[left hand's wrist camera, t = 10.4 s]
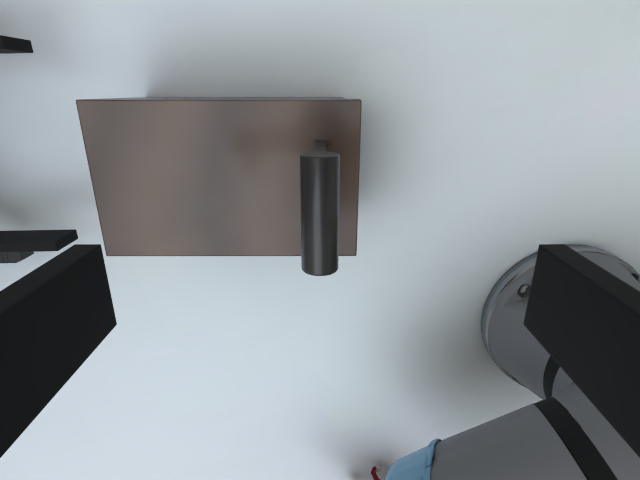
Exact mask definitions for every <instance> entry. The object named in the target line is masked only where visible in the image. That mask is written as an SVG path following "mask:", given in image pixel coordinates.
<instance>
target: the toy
mask: <svg viewBox="0 0 640 480" xmlns="http://www.w3.org/2000/svg"><path fill="white" fill-rule="evenodd" d="M379 469H381V465H380V467H377V466H375V467H373V468H372V470H371V474H372V476H373V478H374V480H380V479H379V478H378V476H377V474H376V472H378V471H379Z"/></svg>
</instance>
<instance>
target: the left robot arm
mask: <svg viewBox="0 0 640 480" xmlns="http://www.w3.org/2000/svg"><path fill="white" fill-rule="evenodd" d="M116 325H117V323H116V318H115V313H114V308H113V303H112V298H111V293H110V289H109V284H108V279H107V274H106V269H105V264H104V259H103V254H102V249H101V245H74V246H72V247H70V248H69V249H67V250H66V251H64V252H62V253H61V254H59V255H58V256H56V257H54V258H53V259H51V260H50V261H48V262H46V263H45V264H43V265H42V266H40V267H38V268H37V269H35V270H34V271H32V272H30V273H29V274H27V275H26V276H24V277H22V278H21V279H19V280H18V281H16V282H14V283H13V284H11V285H10V286H8V287H7V288H5V289H3V290H2V291H0V458H1V457H2V455H3V454H4V453H5V452H6V451H7V450H8V449H9V447H10V446H11V445H12V444H13V443H14V442H15V440H16V439H17V438H18V437H19V436H20V435H21V434H22V432H23V431H24V430H25V429H26V428H27V427H28V426H29V424H30V423H31V422H32V421H33V420H34V419H35V418H36V416H37V415H38V414H39V413H40V412H41V411H42V409H43V408H44V407H45V406H46V405H47V404H48V403H49V401H50V400H51V399H52V398H53V397H54V396H55V395H56V393H57V392H58V391H59V390H60V389H61V388H62V387H63V385H64V384H65V383H66V382H67V381H68V380H69V379H70V377H71V376H72V375H73V374H74V373H75V372H76V370H77V369H78V368H79V367H80V366H81V365H82V364H83V362H84V361H85V360H86V359H87V358H88V357H89V356H90V354H91V353H92V352H93V351H94V350H95V349H96V348H97V346H98V345H99V344H100V343H101V342H102V341H103V339H104V338H105V337H106V336H107V335H108V334H109V333H110V331H111V330H112V329H113V328H114V327H115V326H116ZM481 331H482V337H483V341H484V344H485V346H486V348H487V350H488V352H489V353H490V355H491V357H492V358H493V360H494V361H495V363H496V364H497V365H498V367H499V368H500V369H501V370H502V371H503V372H504V373H505V374H506V375H507V376H509V377H510V378H511V379H513V380H514V381H516V382H517V383H519V384H521V385H522V386H524V387H527V388H528V389H529V390H531V391H532V392H533V393H535V394H536V395H537V396H539V397H540V398H541V399H543V400H542V401H540V402H537V403H535V404H531V405H528V406H526V407H524V408H521V409H519V410H516V411H514V412H511V413H509V414H506V415H504V416H501V417H499V418H496V419H494V420H491V421H489V422H486V423H484V424H481V425H479V426H476V427H474V428H471V429H469V430H467V431H464V432H462V433H459V434H457V435H454V436H452V437H449V438H447V439H444V440H441V439H438V438H437V439H435V440H433V441H431V443H430V444H429V445H428V446H426V447H424V448H422V449H420V450H418V451H416V452H414V453H412V454H409V455H407V456H405V457H403V458H401V459H399V460H398V461H396V462H395V463H394V464H393V465H392V466H391V468H390V469H389V471H388V473H387V475H386V478H385V480H640V275H639V274H638V273H637V271H636V270H635V269H634V268H633V267H631V266H630V265H629V264H627V263H626V262H624V261H623V260H621V259H619V258H617V257H616V256H614V255H612V254H610V253H608V252H606V251H604V250H601V249H598V248H595V247H590V246H584V245H539V249H538V253H536V254H533V255H531V256H529V257H528V258H526V259H524V260H522V261H521V262H519V263H518V264H516V265H515V266H514V267H512V268H511V269H510V270H509V271H508V272H507V273H506V274H505V275H504V276H503V277H502V278H501V279H500V280H499V281H498V282H497V284H496V285H495V286H494V288H493V289H492V291H491V293H490V295H489V296H488V298H487V301H486V303H485V306H484V309H483V313H482V320H481Z"/></svg>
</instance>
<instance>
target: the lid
mask: <svg viewBox="0 0 640 480" xmlns="http://www.w3.org/2000/svg"><path fill="white" fill-rule="evenodd" d="M361 102H362V101H361V100H359V99H85V100H76V104H77V109H78V114H79V119H80V124H81V129H82V134H83V139H84V144H85V149H86V154H87V159H88V165H89V170H90V175H91V180H92V185H93V190H94V195H95V200H96V205H97V210H98V215H99V220H100V225H101V230H102V235H103V240H104V245H105V250H106V255H107V256H301V257H302V270H303V271H304V272H305V273H307V274H310V275H314V276H325V275H330V274H333V273H335V272H336V271H337V269H338V256H356V251H357V221H358V191H359V161H360V132H361Z"/></svg>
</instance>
